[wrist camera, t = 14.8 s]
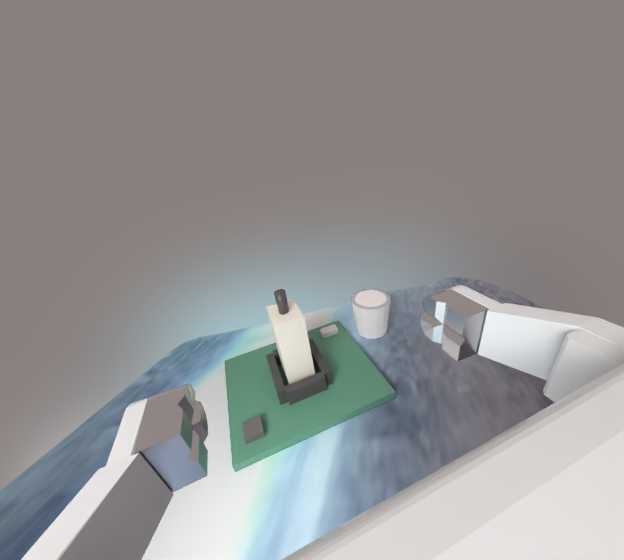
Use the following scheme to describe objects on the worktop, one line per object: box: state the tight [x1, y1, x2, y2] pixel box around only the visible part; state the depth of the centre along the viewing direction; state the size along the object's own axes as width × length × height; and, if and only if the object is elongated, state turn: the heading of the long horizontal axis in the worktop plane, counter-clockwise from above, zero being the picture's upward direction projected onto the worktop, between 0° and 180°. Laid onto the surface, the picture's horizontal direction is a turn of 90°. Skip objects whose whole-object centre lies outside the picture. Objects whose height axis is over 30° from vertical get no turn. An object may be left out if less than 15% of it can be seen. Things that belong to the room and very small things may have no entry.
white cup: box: [351, 289, 391, 339], centre depth 46 cm, size 7×7×7 cm
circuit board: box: [225, 321, 396, 472], centre depth 39 cm, size 22×18×4 cm
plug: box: [266, 289, 315, 384], centre depth 36 cm, size 4×5×15 cm
